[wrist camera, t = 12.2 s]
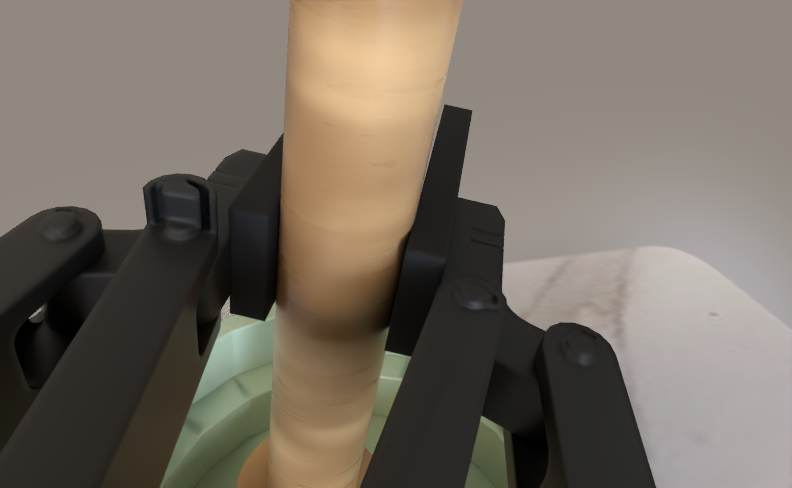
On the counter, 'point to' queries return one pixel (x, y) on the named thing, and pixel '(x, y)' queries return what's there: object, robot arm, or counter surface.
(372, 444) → the bowl
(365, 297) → the wooden pestle
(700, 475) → the counter surface
